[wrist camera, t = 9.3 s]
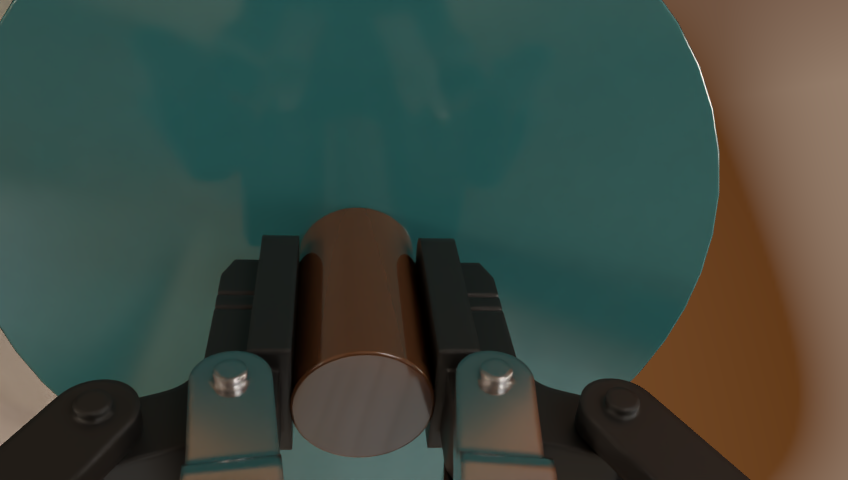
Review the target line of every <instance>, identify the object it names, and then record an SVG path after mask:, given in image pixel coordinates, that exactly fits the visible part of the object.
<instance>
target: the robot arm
mask: <svg viewBox="0 0 848 480" xmlns="http://www.w3.org/2000/svg"><path fill="white" fill-rule="evenodd" d="M415 266H416V272H417V279H418V286H419V292H420V299H421V306H422V312H423V319H424V326H425V332H426V339H427V346H428V352H429V359H430V365H431V372H432V379H433V385H434V391H435V409H434V412H433V415H432V418H431V420H430V422H429V424H428V425H427V427H426V428H425V433H426V441H427V448H442V450H443V456H444V465H443V472H442V480H750V479H749V478H748V477H747V476H745V475H744V474H743V473H742V472H741V471H740V470H738V469H737V468H736V467H735V466H734V465H733V464H731V463H730V462H729V461H728V460H727V459H725V458H724V457H723V456H722V455H721V454H720V453H719V452H717V451H716V450H715V449H714V448H713V447H712V446H710V445H709V444H708V443H707V442H706V441H705V440H703V439H702V438H701V437H700V436H699V435H698V434H696V433H695V432H694V431H693V430H692V429H691V428H690V427H688V426H687V425H686V424H685V423H684V422H683V421H681V420H680V419H679V418H678V417H677V416H676V415H674V414H673V413H672V412H671V411H670V410H669V409H667V408H666V407H665V406H664V405H663V404H662V403H660V402H659V401H658V400H657V399H656V398H655V397H653V396H652V395H651V394H650V393H649V392H647V391H646V390H644V389H643V388H641V387H640V386H638V385H636V384H634V383H631V382H628V381H625V380H621V379H614V378H604V379H599V380H595V381H593V382H591V383H589V384H588V385H587V386H585V388H584V389H583V390H582V393H581V395H578V394H574V393H569V392H565V391H561V390H557V389H553V388H550V387H548V386H545V385H543V384H541V383H539V382H537V381H535V380H534V376H533V374H532V372H531V370H530V369H529V367H528V366H527V365H526V364H525V363H524V362H522V361H521V360H520V359H518V358H516V354H515V351H514V347H513V344H512V340H511V337H510V333H509V330H508V326H507V323H506V320H505V316H504V313H503V311H502V306H501V302H500V299H499V298H498V292H497V288H496V285H495V281H494V278H493V277H492V276H491V275H490V274H489V273H488V271H487V270H486V269H485V268H484V267H483V266H482V265H481V264H480V263H460V260H459V255H458V251H457V247H456V242H455V240H454V239H452V238H419V239H418V242H417V250H416V261H415ZM298 278H299V236H290V235H263V236H262V242H261V249H260V256H259V260H244V259H235V260H234V261H233V262H232V263H231V264H230V266H229V267H228V268H227V269H226V270H225V271H224V272H223V273H222V274H221V278H220V283H219V288H218V295H217V298H216V303H215V309H214V313H213V318H212V323H211V328H210V332H209V337H208V342H207V347H206V352H205V357H204V359H203V360H202V361H200V362H199V363H198V364H197V365H196V366H195V367H194V368H193V369H192V371H191V373H190V375H189V379H188V381H186V382H185V383H183V384H181V385H180V386H178V387H175V388H173V389H170V390H167V391H164V392H160V393H156V394H152V395H147V396H143V397H139V396H138V394H137V392H136V391H135V390H134V389H133V388H132V387H131V386H129V385H128V384H125V383H123V382H120V381H117V380H110V379H100V380H92V381H87V382H84V383H80V384H78V385H75V386H73V387H71V388H69V389H67V390H66V391H64V392H63V393H61V394H60V395H59V396H58V397H56V398H55V399H54V400H53V401H52V402H51V403H49V404H48V405H47V406H46V407H45V408H44V409H43V410H41V411H40V412H39V413H38V414H37V415H36V416H34V417H33V418H32V419H31V420H30V421H29V422H28V423H26V424H25V425H24V426H23V427H22V428H21V429H20V430H18V431H17V432H16V433H15V434H14V435H13V436H11V437H10V438H9V439H8V440H7V441H6V442H5V443H3V444H2V445H1V446H0V480H284V476H283V465H282V457H281V454H280V450H292V442H293V425H294V424H293V421H292V419H291V415H290V410H289V401H290V394H291V390H292V374H293V358H294V342H295V326H296V310H297V294H298Z"/></svg>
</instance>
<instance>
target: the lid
mask: <svg viewBox="0 0 848 480" xmlns="http://www.w3.org/2000/svg"><path fill="white" fill-rule="evenodd" d="M718 198H719V146H718V139H717V133H716V126H715V119H714V112H713V107H712V104H711V101H710V97H709V95H708V91H707V88H706V85H705V82H704V78H703V75H702V72H701V69H700V66H699V63H698V61H697V59H696V57H695V55H694V53H693V51H692V49H691V47H690V45H689V43H688V41H687V39H686V37H685V35H684V33H683V31H682V29H681V27H680V25H679V23H678V21H677V20H676V19H675V17H674V16H673V14H672V13H671V12H670V10H669V9H668V8H667V6H666V5H665V3H664V2H663V0H13V1H12V3H11V4H10V6H9V8H8V9H7V11H6V13H5V14H4V16H3V18H2V19H1V21H0V328H1V329H2V331H3V333H4V334H5V336H6V337H7V339H8V340H9V342H10V343H11V345H12V346H13V348H14V349H15V351H16V352H17V353H18V354H19V356H20V357H21V358H22V359H23V360H24V361H25V363H26V364H27V365H28V366H29V367H30V368H31V370H32V371H33V372H34V373H35V374H36V375H37V377H38V378H39V379H40V380H41V381H42V382H43V383H44V384H45V385H46V386H47V387H48V388H49V389H50V390H51V391H52V392H53V393H55V394H56V395H57V396H59V395H60V394H61V393H63V392H64V391H66V390H67V389H69V388H71V387H73V386H75V385H78V384H80V383H84V382H87V381H92V380H100V379H110V380H117V381H120V382H123V383H125V384H128V385H129V386H131V387H132V388H133V389H134V390H135V391H136V392H137V394H138V396H139V397H143V396H147V395H152V394H156V393H160V392H164V391H167V390H170V389H173V388H175V387H178V386H180V385H181V384H183V383H185V382H186V381H188V379H189V375H190V373H191V371H192V369H193V368H194V367H195V366H196V365H197V364H198V363H199V362H200V361H202V360H203V359H204V357H205V352H206V347H207V342H208V337H209V332H210V328H211V323H212V318H213V313H214V309H215V303H216V298H217V295H218V288H219V283H220V278H221V274H222V273H223V272H224V271H225V270H226V269H227V268H228V267H229V266H230V264H231V263H232V262H233V261H234V260H235V259H244V260H259V256H260V249H261V242H262V236H263V235H290V236H299V278H298V294H297V310H296V326H295V342H294V358H293V374H292V390H291V394H290V401H289V410H290V415H291V419H292V421H293V424H294V425H293V442H292V450H280V454H281V457H282V465H283V476H284V480H442V472H443V465H444V456H443V450H442V448H427V441H426V433H425V428H426V427H427V425H428V424H429V422H430V420H431V418H432V415H433V412H434V409H435V391H434V385H433V379H432V372H431V365H430V359H429V352H428V346H427V339H426V332H425V326H424V319H423V312H422V306H421V299H420V292H419V286H418V279H417V272H416V266H415V261H416V250H417V242H418V239H419V238H452V239H454V240H455V242H456V247H457V251H458V255H459V260H460V263H480V264H481V265H482V266H483V267H484V268H485V269H486V270H487V271H488V273H489V274H490V275H491V276H492V277H493V278H494V281H495V285H496V288H497V292H498V298H499V299H500V302H501V306H502V311H503V313H504V316H505V320H506V323H507V326H508V330H509V333H510V337H511V340H512V344H513V347H514V351H515V354H516V358H518V359H520V360H521V361H522V362H524V363H525V364H526V365H527V366H528V367H529V369H530V370H531V372H532V374H533V376H534V380H535V381H537V382H539V383H541V384H543V385H545V386H548V387H550V388H553V389H557V390H561V391H565V392H569V393H574V394H578V395H581V393H582V390H583V389H584V388H585V386H587V385H588V384H589V383H591V382H593V381H595V380H599V379H604V378H614V379H621V380H625V381H628V382H630V381H631V380H632V379H633V378H634V377H635V376H636V375H637V374H638V373H639V372H640V371H641V370H642V369H643V368H644V366H645V365H646V364H647V363H648V361H649V360H650V359H651V358H652V356H653V355H654V354H655V353H656V351H657V350H658V349H659V348H660V346H661V345H662V344H663V343H664V341H665V340H666V338H667V337H668V335H669V333H670V331H671V330H672V329H673V327H674V325H675V324H676V322H677V320H678V319H679V317H680V315H681V314H682V312H683V311H684V309H685V307H686V305H687V303H688V301H689V298H690V296H691V294H692V292H693V290H694V287H695V285H696V283H697V281H698V279H699V276H700V274H701V272H702V269H703V265H704V262H705V259H706V255H707V252H708V249H709V245H710V242H711V239H712V236H713V230H714V224H715V217H716V211H717V203H718Z"/></svg>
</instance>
